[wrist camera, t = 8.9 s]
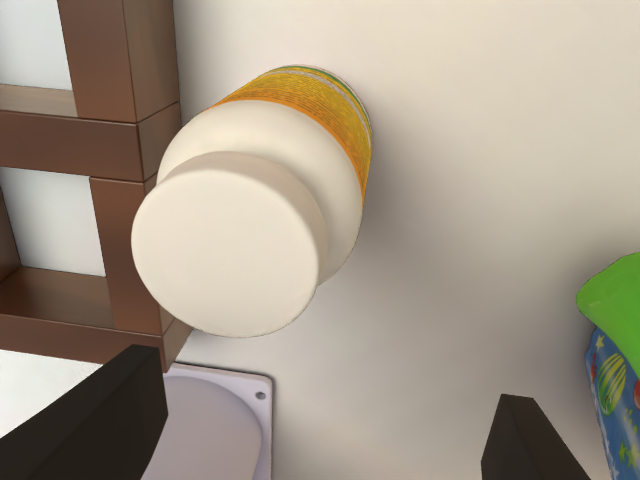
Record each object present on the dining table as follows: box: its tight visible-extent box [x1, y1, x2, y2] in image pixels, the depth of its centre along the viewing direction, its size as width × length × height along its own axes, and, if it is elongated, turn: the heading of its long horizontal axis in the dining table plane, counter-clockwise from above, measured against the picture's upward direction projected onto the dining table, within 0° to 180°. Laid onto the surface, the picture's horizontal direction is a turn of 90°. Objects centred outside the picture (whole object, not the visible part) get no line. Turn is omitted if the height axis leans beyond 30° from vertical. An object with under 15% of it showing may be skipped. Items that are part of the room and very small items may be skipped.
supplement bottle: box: [131, 65, 372, 338], centre depth 14 cm, size 5×5×10 cm
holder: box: [0, 0, 194, 374], centre depth 18 cm, size 19×10×4 cm, turn 177°
